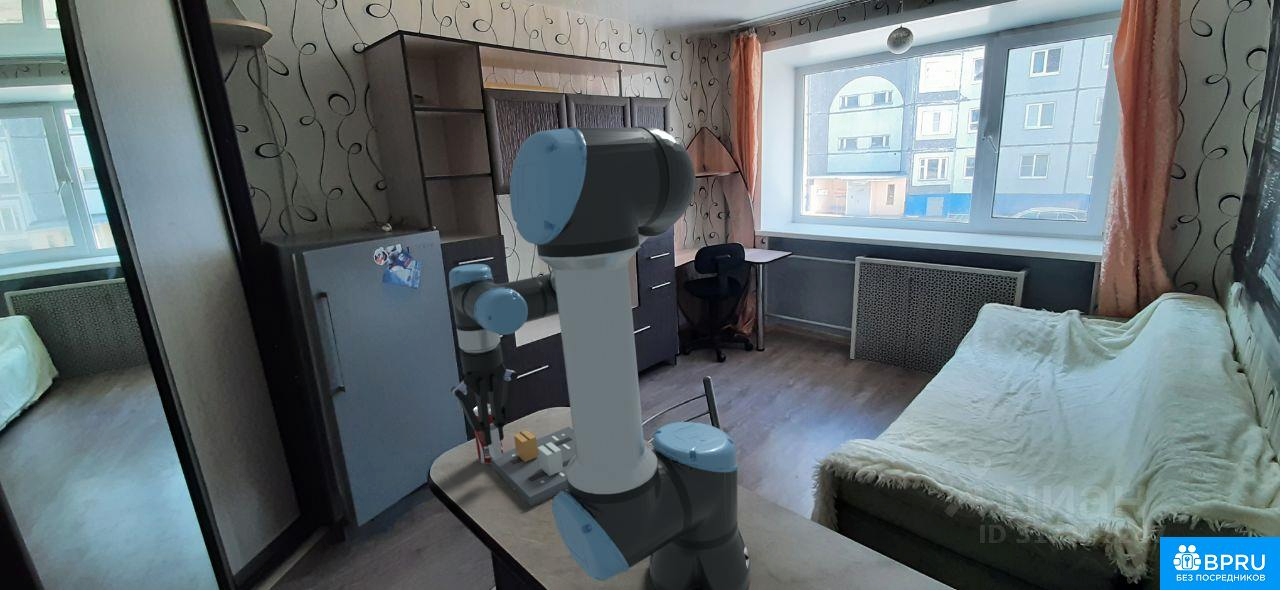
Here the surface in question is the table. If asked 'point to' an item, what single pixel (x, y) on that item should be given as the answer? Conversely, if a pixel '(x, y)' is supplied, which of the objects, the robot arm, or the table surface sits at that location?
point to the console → (537, 469)
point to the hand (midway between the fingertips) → (495, 456)
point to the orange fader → (526, 445)
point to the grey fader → (550, 458)
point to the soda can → (481, 446)
